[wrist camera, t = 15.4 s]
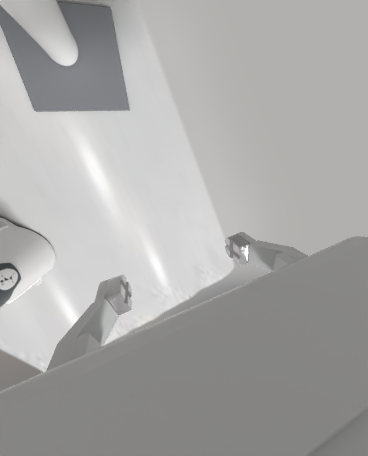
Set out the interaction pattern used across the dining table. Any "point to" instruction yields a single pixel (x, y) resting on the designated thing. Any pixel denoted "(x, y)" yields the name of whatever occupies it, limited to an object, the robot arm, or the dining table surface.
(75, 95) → the rubber mat
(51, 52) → the drinking glass
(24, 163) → the dining table surface
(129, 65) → the dining table surface
